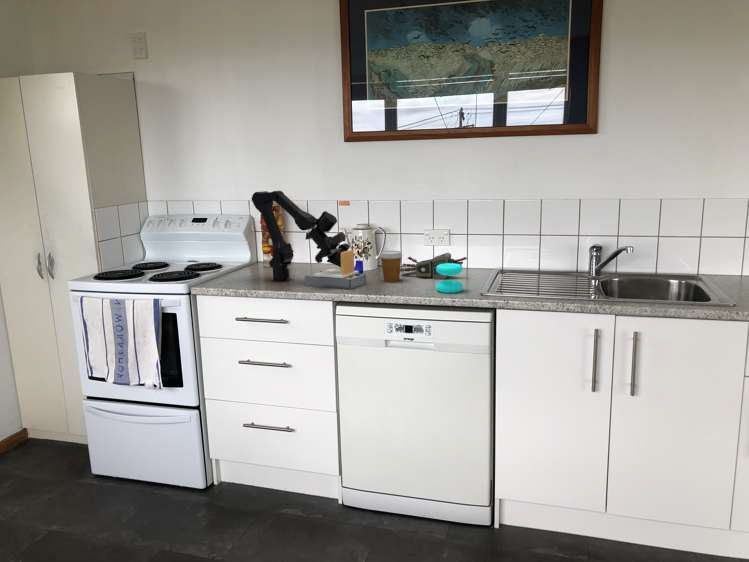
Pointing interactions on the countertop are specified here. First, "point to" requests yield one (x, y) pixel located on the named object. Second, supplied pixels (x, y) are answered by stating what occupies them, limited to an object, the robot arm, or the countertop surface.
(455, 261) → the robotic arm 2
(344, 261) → the lid
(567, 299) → the countertop surface
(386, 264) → the disposable coffee cup
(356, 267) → the cable clip
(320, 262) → the robot arm
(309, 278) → the frame
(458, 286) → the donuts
